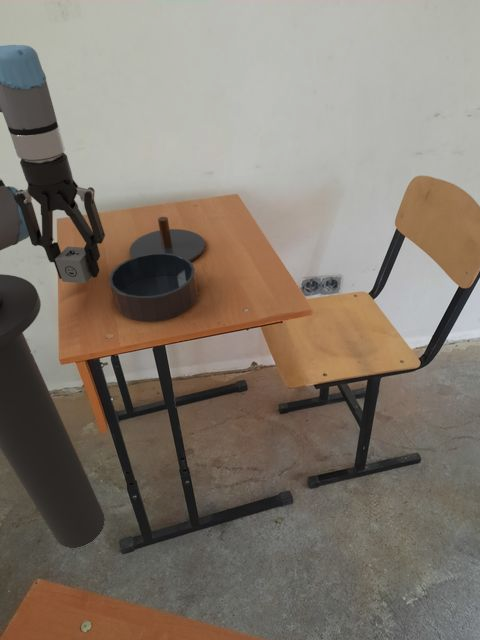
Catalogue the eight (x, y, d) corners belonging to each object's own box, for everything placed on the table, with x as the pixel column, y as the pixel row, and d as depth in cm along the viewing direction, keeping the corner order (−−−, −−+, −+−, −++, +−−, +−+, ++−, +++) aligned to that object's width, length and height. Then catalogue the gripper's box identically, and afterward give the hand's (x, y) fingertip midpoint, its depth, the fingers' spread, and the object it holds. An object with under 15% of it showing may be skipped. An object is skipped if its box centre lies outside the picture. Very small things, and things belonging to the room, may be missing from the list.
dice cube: (74, 268, 97) (67, 246, 93) (97, 270, 96) (91, 248, 93) (62, 281, 93) (54, 259, 90) (86, 283, 92) (79, 261, 89)
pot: (107, 323, 106) (100, 299, 101) (123, 276, 120) (118, 254, 116) (194, 320, 106) (191, 296, 102) (200, 274, 121) (197, 251, 116)
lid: (124, 270, 123) (116, 238, 117) (137, 233, 138) (130, 203, 132) (202, 267, 123) (199, 235, 117) (206, 231, 138) (203, 201, 132)
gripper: (103, 146, 82) (130, 263, 97) (-6, 149, 82) (38, 266, 97) (93, 161, 76) (123, 283, 92) (-24, 165, 76) (26, 286, 91)
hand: (79, 274), depth 94 cm, fingers closed on dice cube, 6 cm apart
